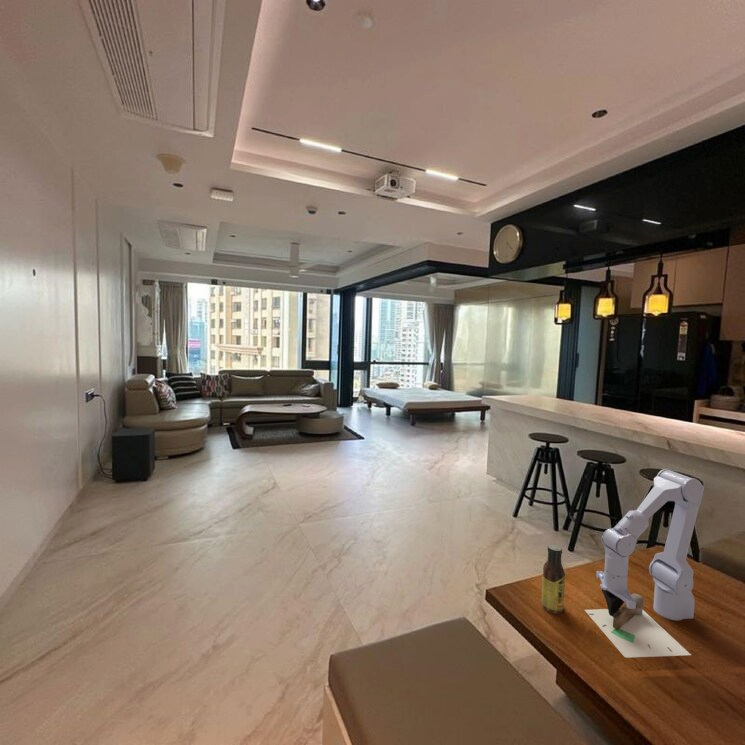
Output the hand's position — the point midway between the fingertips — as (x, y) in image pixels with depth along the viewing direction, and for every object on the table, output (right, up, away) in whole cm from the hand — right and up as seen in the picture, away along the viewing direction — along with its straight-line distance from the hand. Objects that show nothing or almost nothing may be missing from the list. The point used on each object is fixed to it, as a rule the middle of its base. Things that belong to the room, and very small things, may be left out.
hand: (613, 615), depth 115 cm
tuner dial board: (+3, -3, -4) cm, 6 cm away
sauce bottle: (-15, -2, +6) cm, 17 cm away
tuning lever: (+3, -1, -1) cm, 4 cm away
